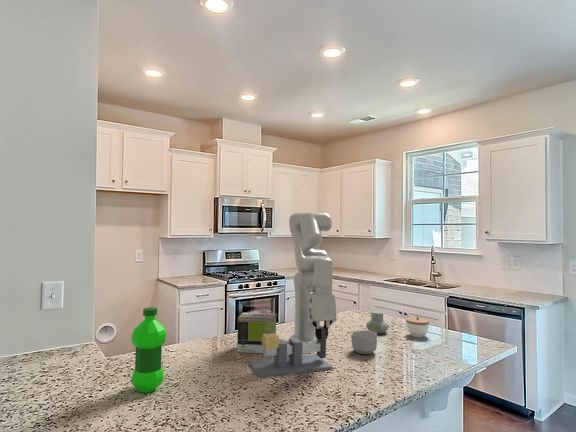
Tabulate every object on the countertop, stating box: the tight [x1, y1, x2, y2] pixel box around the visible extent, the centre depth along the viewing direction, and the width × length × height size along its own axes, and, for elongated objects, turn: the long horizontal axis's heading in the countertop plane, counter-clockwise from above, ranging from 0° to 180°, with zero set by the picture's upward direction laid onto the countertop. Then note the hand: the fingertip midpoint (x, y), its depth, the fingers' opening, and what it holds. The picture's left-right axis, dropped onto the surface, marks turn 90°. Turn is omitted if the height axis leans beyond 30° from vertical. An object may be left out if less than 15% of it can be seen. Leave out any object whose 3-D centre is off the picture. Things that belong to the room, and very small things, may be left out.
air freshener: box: [365, 310, 389, 335], centre depth 193 cm, size 11×8×10 cm
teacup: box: [350, 329, 378, 355], centre depth 162 cm, size 14×11×8 cm
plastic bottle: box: [130, 307, 167, 393], centre depth 120 cm, size 10×10×25 cm
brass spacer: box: [262, 333, 280, 349], centre depth 140 cm, size 5×5×4 cm
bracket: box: [248, 337, 333, 378], centre depth 142 cm, size 14×28×10 cm, turn 110°
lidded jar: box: [405, 316, 430, 338], centre depth 188 cm, size 11×11×9 cm
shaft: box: [262, 325, 327, 359], centre depth 143 cm, size 4×24×11 cm, turn 110°
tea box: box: [236, 312, 277, 354], centre depth 161 cm, size 15×10×15 cm, turn 84°
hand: (321, 337), depth 147 cm, fingers closed on shaft, 2 cm apart
